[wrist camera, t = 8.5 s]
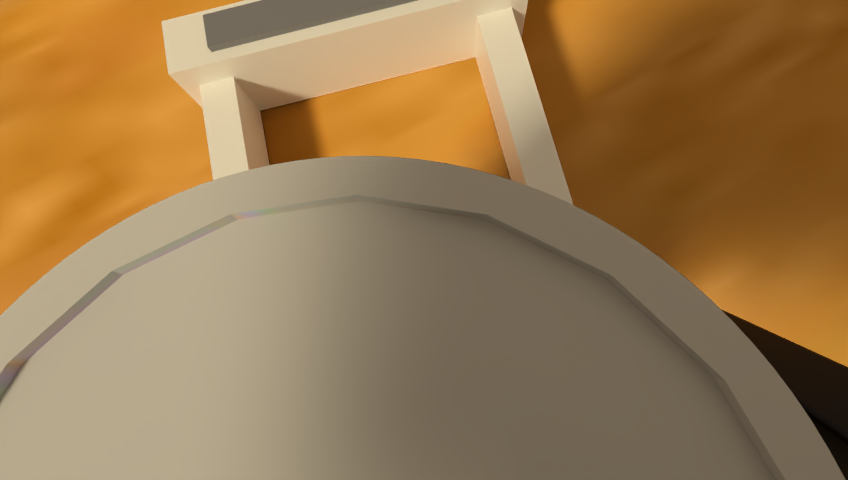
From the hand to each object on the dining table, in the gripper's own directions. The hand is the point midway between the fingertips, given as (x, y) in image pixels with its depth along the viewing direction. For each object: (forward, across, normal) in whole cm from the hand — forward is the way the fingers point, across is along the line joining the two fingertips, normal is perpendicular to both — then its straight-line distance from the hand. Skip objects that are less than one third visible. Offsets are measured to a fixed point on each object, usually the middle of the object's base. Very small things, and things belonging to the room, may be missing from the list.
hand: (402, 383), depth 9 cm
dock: (+13, 0, +1) cm, 13 cm away
